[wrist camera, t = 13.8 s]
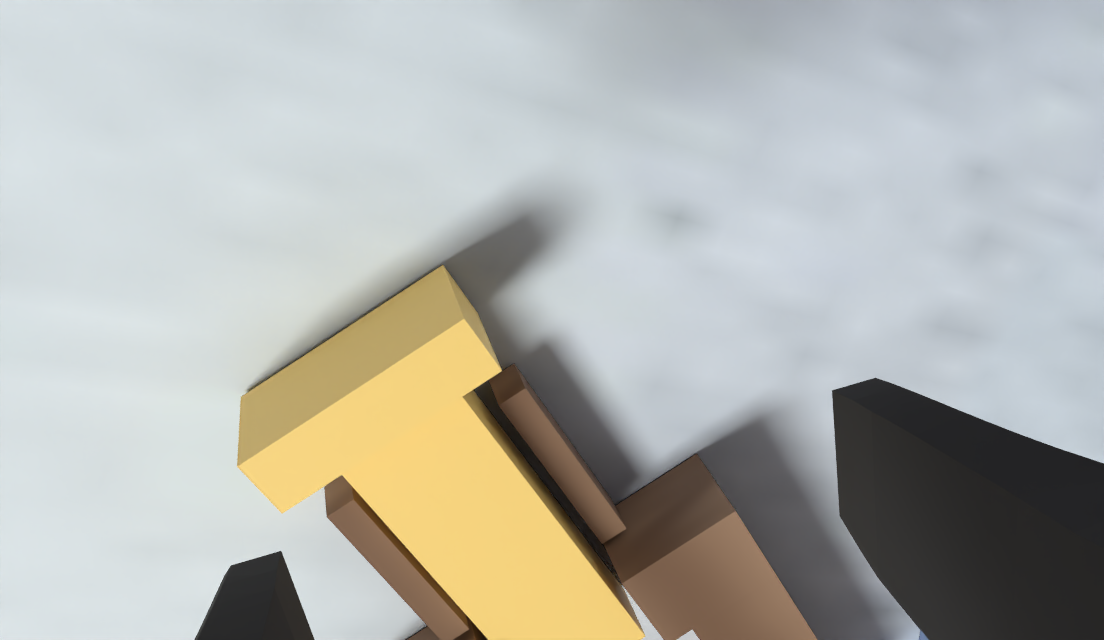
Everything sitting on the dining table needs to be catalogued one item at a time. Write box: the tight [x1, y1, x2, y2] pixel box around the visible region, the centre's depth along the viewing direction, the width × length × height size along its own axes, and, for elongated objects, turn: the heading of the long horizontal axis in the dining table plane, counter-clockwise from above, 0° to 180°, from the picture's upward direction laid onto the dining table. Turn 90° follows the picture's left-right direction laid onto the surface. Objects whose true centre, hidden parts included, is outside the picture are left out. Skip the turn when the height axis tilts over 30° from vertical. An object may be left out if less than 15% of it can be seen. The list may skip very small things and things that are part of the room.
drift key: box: [237, 265, 645, 640], centre depth 24 cm, size 5×10×3 cm, turn 30°
